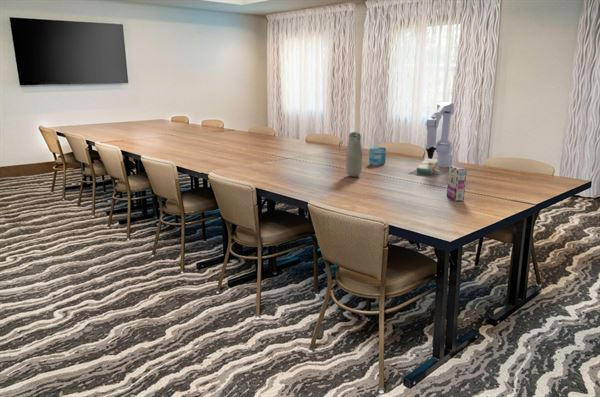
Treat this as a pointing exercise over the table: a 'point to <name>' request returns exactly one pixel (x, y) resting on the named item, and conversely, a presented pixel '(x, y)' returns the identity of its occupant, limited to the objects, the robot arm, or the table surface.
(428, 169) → the ash slab
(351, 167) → the glass bottle
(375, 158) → the data package
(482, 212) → the table surface
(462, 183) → the candy bar box
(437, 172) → the rubber mat
